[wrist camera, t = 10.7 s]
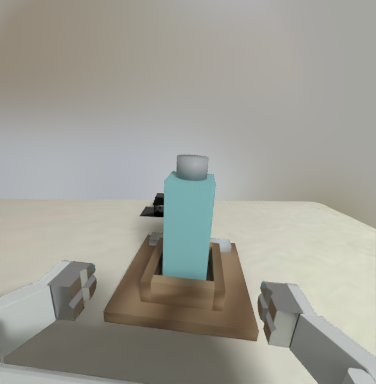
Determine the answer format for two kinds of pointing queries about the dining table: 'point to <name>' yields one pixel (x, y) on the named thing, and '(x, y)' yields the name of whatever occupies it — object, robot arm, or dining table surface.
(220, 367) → the dining table surface
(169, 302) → the jig
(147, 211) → the black block on base
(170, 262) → the teal bottle
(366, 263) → the dining table surface
